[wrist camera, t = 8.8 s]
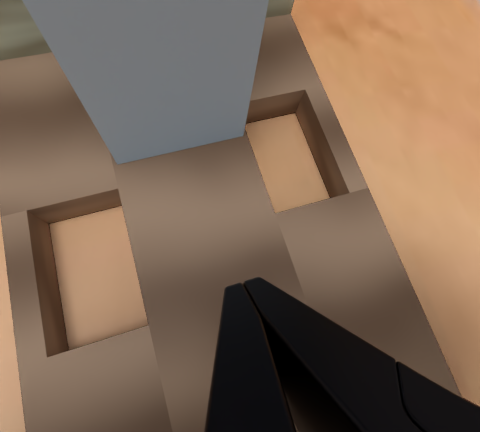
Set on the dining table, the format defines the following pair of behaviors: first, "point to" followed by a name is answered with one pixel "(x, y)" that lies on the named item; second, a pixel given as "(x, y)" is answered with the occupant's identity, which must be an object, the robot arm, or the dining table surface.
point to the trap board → (183, 241)
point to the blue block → (157, 67)
